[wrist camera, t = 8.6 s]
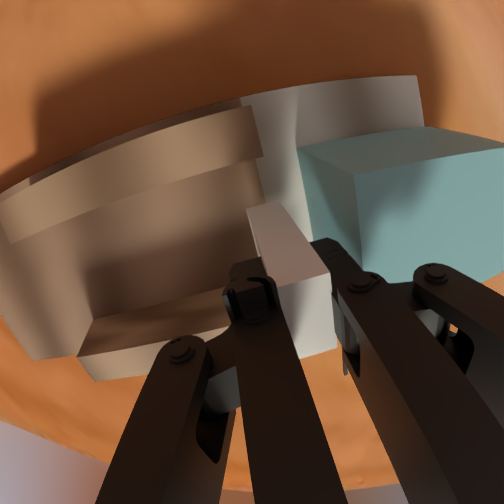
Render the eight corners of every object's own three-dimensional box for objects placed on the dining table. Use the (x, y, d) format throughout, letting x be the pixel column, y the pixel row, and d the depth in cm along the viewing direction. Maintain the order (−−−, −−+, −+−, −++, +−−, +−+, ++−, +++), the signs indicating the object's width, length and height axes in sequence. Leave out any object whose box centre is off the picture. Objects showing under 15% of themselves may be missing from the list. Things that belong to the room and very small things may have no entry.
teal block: (315, 256, 17) (364, 331, 11) (295, 148, 14) (353, 175, 8) (432, 222, 17) (503, 271, 11) (427, 126, 14) (514, 146, 8)
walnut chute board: (36, 352, 19) (17, 392, 15) (-37, 218, 14) (-75, 245, 10) (420, 254, 19) (458, 287, 15) (406, 75, 14) (457, 73, 10)
